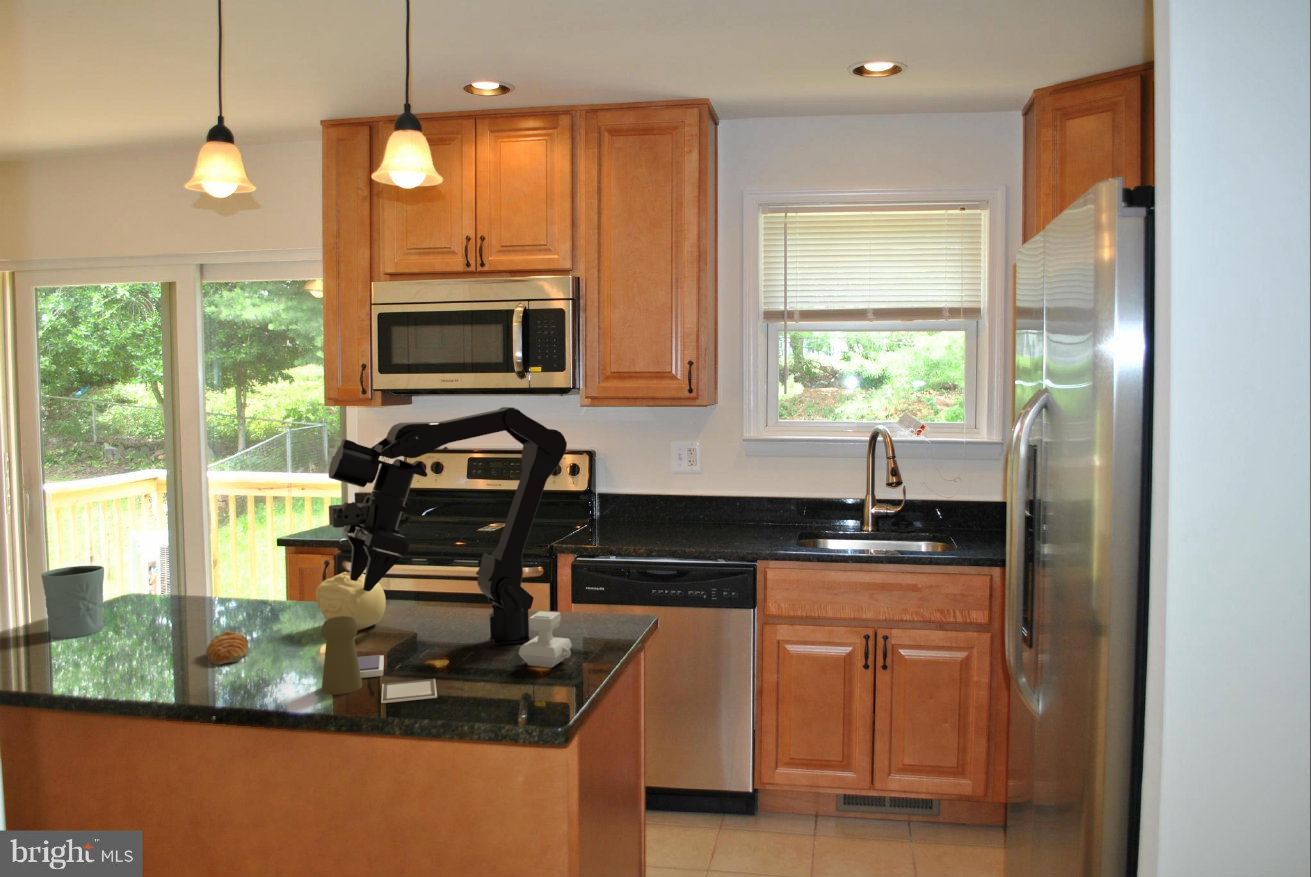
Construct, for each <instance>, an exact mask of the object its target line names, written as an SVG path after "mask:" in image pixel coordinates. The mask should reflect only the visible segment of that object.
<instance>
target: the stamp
mask: <svg viewBox="0 0 1311 877" xmlns="http://www.w3.org/2000/svg"><path fill="white" fill-rule="evenodd" d="M561 621H562V616H561V612H559V611H558V612H557V611H544V610H542V611H541V610H539V611H537V612H536V613H535V614H532V616H530V617H529V628H530V629H531V631H536V632H537V636H535V637H533V638H531V640H530V641H529V642H526V643H523V644H522V645H521V646H520V648H519V650H518V655H519V656H520V657H521V659H522V660H524V662H525V663H526V664H527V666H531V667H532V666H533V667H538V666H539V668H540V667H541V668H550V669H551V668H554V667H555V666H557V665H558V664H559V663H561V662H562V661H564V660H565V659H567V658H570V657H571V654H572V653H571V648H572V647H573V644H572V641H571V640H570V638H568V637H567V638H566V637H558V636H557V637H556V636H553V630H554V629H556V628H558V627H559V626H560V622H561Z"/></svg>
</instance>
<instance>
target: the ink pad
mask: <svg viewBox="0 0 1311 877" xmlns="http://www.w3.org/2000/svg"><path fill="white" fill-rule="evenodd" d="M384 656H385V654H384V655H380V654H374V655H363V656H357V657H358V663H359V668H360V674H361V679H363V678H373V677H374V678H375V677H383V676H384V663H385V659H384Z"/></svg>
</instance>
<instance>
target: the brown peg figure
mask: <svg viewBox="0 0 1311 877" xmlns="http://www.w3.org/2000/svg"><path fill="white" fill-rule="evenodd" d="M357 633H358V631H357V623H356V621H355V620H354V619H353V618H351V617H345V616H341V617H334V618H330V619H328V620H324V622H323V624H322V627H321V634H322V637H323V638H324V640H325V650H324V651H325V652H324V659H323V660H324V663H323V671H322V680H321V681H322V682H321V683H322V684H321V692H322V693H323V694H325V695H333V696H334V695H337V696H338V695H346V694H351V693H354V692H357V691H359V690H360V689H361V688H363V680H362V678H361V674H360V668H359V663H358V657H359V656H358V654H357V652H358V651H357V646H356V643H355V637H356V636H357Z"/></svg>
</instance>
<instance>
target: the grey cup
mask: <svg viewBox="0 0 1311 877" xmlns="http://www.w3.org/2000/svg"><path fill="white" fill-rule="evenodd" d="M104 577H105V567H104V566H102V565H79V566H78V565H77V566H68V567H67V566H66V567H61V568H56V569H51V570H50V569H49V570H47V571H44V572H42V573H41V581H42V585H43V587H42V588H43V590H44V596H45V608H46V614H47V620H48V630H49V635H50V637H51V638H53V639H59V640H60V639H61V640H65V639H77V638H82V637H87V636H92V635H95V634H97V633H100V632H102V630H103V627H104V626H103V625H104V624H103V623H104V614H103V609H104V595H103V593H104Z"/></svg>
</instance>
